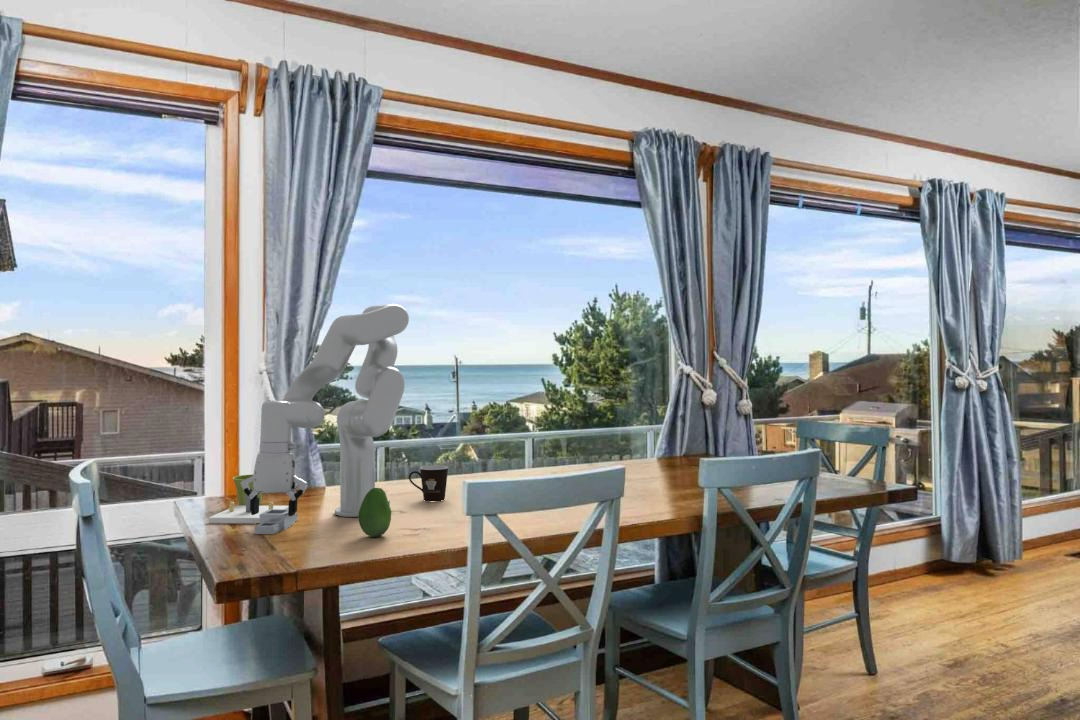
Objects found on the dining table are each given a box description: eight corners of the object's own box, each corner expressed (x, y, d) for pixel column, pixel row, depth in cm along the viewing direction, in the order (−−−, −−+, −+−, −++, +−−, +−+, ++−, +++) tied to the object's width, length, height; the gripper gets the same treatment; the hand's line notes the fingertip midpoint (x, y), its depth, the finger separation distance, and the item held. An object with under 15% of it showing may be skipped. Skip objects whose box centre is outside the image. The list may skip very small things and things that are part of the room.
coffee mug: (453, 499, 227) (453, 467, 227) (435, 503, 220) (435, 470, 220) (425, 495, 233) (425, 464, 233) (406, 499, 226) (406, 467, 226)
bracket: (277, 520, 198) (276, 505, 198) (300, 520, 198) (300, 505, 198) (251, 534, 182) (251, 518, 182) (276, 534, 182) (276, 518, 182)
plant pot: (244, 510, 211) (244, 480, 211) (226, 506, 217) (226, 477, 217) (273, 505, 218) (273, 476, 218) (255, 501, 224) (255, 473, 224)
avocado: (396, 533, 183) (396, 485, 183) (382, 541, 175) (382, 491, 175) (367, 531, 184) (367, 484, 184) (352, 539, 177) (352, 489, 177)
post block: (290, 510, 210) (290, 490, 210) (268, 523, 194) (268, 500, 194) (235, 510, 210) (235, 489, 210) (208, 523, 194) (208, 500, 194)
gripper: (313, 447, 193) (311, 513, 192) (249, 446, 194) (246, 511, 193) (303, 450, 185) (301, 518, 185) (236, 448, 186) (233, 516, 186)
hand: (273, 514), depth 189 cm, fingers open, 9 cm apart
